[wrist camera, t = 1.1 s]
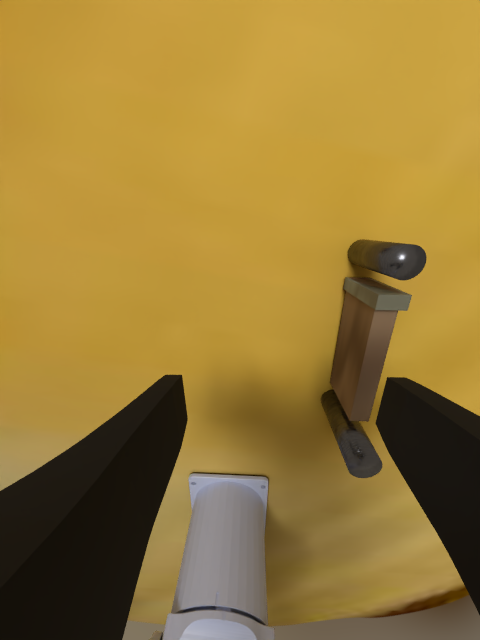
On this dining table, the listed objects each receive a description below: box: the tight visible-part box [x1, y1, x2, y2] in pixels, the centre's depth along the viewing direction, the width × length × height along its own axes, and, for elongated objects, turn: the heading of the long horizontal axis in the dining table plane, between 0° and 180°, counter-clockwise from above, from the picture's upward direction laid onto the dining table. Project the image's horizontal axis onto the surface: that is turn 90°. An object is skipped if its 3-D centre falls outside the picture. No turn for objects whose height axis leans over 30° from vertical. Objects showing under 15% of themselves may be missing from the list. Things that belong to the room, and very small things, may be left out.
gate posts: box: [321, 240, 426, 478], centre depth 15 cm, size 14×2×6 cm, turn 0°
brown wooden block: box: [330, 277, 412, 421], centre depth 15 cm, size 8×2×4 cm, turn 0°
